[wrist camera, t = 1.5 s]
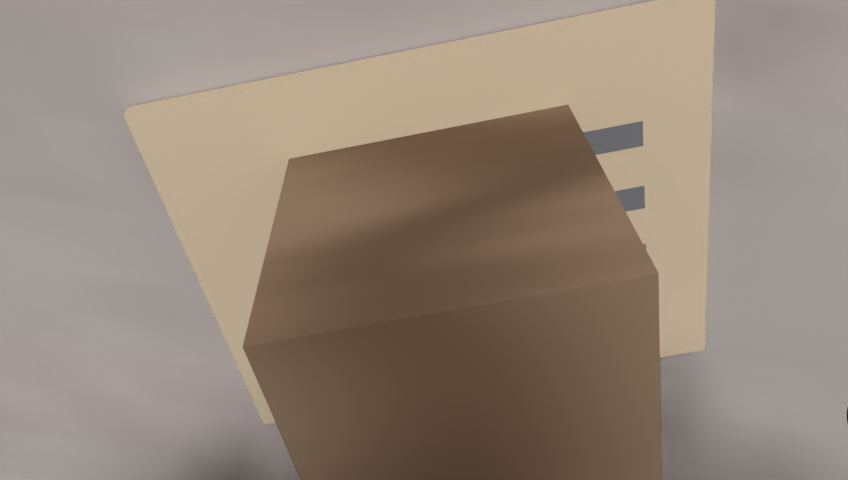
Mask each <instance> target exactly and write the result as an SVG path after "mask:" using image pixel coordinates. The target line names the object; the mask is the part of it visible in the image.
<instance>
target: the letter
mask: <svg viewBox="0 0 848 480" xmlns="http://www.w3.org/2000/svg"><path fill="white" fill-rule="evenodd" d="M715 1H716V0H654V1H649V2H644V3H639V4H634V5H629V6H624V7H620V8H615V9H610V10H605V11H600V12H595V13H590V14H585V15H580V16H575V17H570V18H565V19H560V20H555V21H550V22H545V23H541V24H536V25H531V26H526V27H521V28H516V29H511V30H506V31H501V32H496V33H491V34H486V35H481V36H476V37H471V38H466V39H461V40H457V41H452V42H447V43H442V44H437V45H432V46H427V47H422V48H417V49H412V50H407V51H402V52H397V53H392V54H387V55H382V56H378V57H373V58H368V59H363V60H358V61H353V62H348V63H343V64H338V65H333V66H328V67H323V68H318V69H313V70H308V71H303V72H299V73H294V74H289V75H284V76H279V77H274V78H269V79H264V80H259V81H254V82H249V83H244V84H239V85H234V86H229V87H224V88H219V89H215V90H210V91H205V92H200V93H195V94H190V95H185V96H180V97H175V98H170V99H165V100H160V101H155V102H150V103H145V104H140V105H136V106H131V107H128V109H127V110H126V111H125V113H124V114H123V115H124V118H125V120H126V122H127V124H128V127H129V129H130V131H131V133H132V135H133V138H134V140H135V142H136V144H137V146H138V149H139V151H140V153H141V155H142V157H143V160H144V162H145V164H146V166H147V168H148V171H149V173H150V175H151V177H152V179H153V182H154V184H155V186H156V188H157V190H158V193H159V195H160V197H161V199H162V201H163V204H164V206H165V208H166V210H167V212H168V215H169V217H170V219H171V221H172V223H173V226H174V228H175V230H176V232H177V234H178V237H179V239H180V241H181V243H182V245H183V248H184V250H185V252H186V254H187V256H188V259H189V261H190V263H191V265H192V268H193V270H194V272H195V274H196V276H197V279H198V281H199V283H200V285H201V287H202V290H203V292H204V294H205V296H206V298H207V301H208V303H209V305H210V307H211V309H212V312H213V314H214V316H215V318H216V320H217V323H218V325H219V327H220V329H221V331H222V334H223V336H224V338H225V340H226V342H227V345H228V347H229V349H230V351H231V353H232V356H233V358H234V360H235V362H236V364H237V367H238V369H239V371H240V373H241V375H242V378H243V380H244V382H245V384H246V386H247V389H248V391H249V393H250V395H251V397H252V400H253V402H254V404H255V406H256V409H257V411H258V413H259V415H260V417H261V420H262V422H263V424H264V425H266V424H272V423H276V422H275V420H274V418H273V415H272V413H271V411H270V408H269V406H268V404H267V402H266V399H265V397H264V395H263V393H262V390H261V388H260V386H259V383H258V381H257V379H256V377H255V374H254V372H253V370H252V368H251V365H250V363H249V361H248V358H247V356H246V354H245V352H244V349H243V343H244V339H245V335H246V331H247V327H248V323H249V319H250V315H251V311H252V306H253V302H254V298H255V294H256V290H257V286H258V282H259V278H260V274H261V270H262V266H263V262H264V258H265V254H266V250H267V246H268V242H269V238H270V234H271V230H272V226H273V221H274V217H275V213H276V209H277V205H278V201H279V197H280V193H281V189H282V185H283V181H284V177H285V173H286V169H287V165H288V161H289V159H291V158H296V157H301V156H306V155H311V154H317V153H322V152H327V151H332V150H337V149H342V148H347V147H353V146H358V145H363V144H368V143H373V142H378V141H383V140H389V139H394V138H399V137H404V136H409V135H414V134H420V133H425V132H430V131H435V130H440V129H445V128H450V127H456V126H461V125H466V124H471V123H476V122H481V121H486V120H492V119H497V118H502V117H507V116H512V115H517V114H522V113H528V112H533V111H538V110H543V109H548V108H553V107H558V106H564V105H569V107H570V109H571V111H572V113H573V115H574V116H575V118H576V120H577V122H578V124H579V126H580V128H581V129H582V131H583V133H584V135H585V137H586V139H587V141H588V143H589V144H590V146H591V148H592V150H593V152H594V154H595V156H596V157H597V159H598V161H599V163H600V165H601V167H602V169H603V171H604V172H605V174H606V176H607V178H608V180H609V182H610V184H611V185H612V187H613V189H614V191H615V193H616V195H617V197H618V199H619V200H620V202H621V204H622V206H623V208H624V210H625V212H626V213H627V215H628V217H629V219H630V221H631V223H632V225H633V226H634V228H635V230H636V232H637V234H638V236H639V238H640V240H641V241H642V243H643V245H644V247H645V249H646V251H647V253H648V254H649V256H650V258H651V260H652V262H653V264H654V266H655V268H656V269H657V271H658V273H659V334H660V358H661V357H667V356H673V355H679V354H685V353H691V352H697V351H703V350H705V325H706V293H707V260H708V228H709V196H710V163H711V131H712V99H713V66H714V34H715Z"/></svg>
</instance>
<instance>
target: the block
mask: <svg viewBox="0 0 848 480" xmlns="http://www.w3.org/2000/svg"><path fill="white" fill-rule="evenodd" d="M243 349H244V352H245V354H246V356H247V358H248V361H249V363H250V365H251V368H252V370H253V372H254V374H255V377H256V379H257V381H258V383H259V386H260V388H261V390H262V393H263V395H264V397H265V399H266V402H267V404H268V406H269V408H270V411H271V413H272V415H273V418H274V420H275V422H276V424H277V427H278V429H279V431H280V434H281V436H282V438H283V440H284V443H285V445H286V447H287V449H288V452H289V454H290V456H291V459H292V461H293V463H294V465H295V468H296V470H297V472H298V474H299V477H300V479H301V480H662V467H661V400H660V334H659V273H658V271H657V269H656V268H655V266H654V264H653V262H652V260H651V258H650V256H649V254H648V253H647V251H646V249H645V247H644V245H643V243H642V241H641V240H640V238H639V236H638V234H637V232H636V230H635V228H634V226H633V225H632V223H631V221H630V219H629V217H628V215H627V213H626V212H625V210H624V208H623V206H622V204H621V202H620V200H619V199H618V197H617V195H616V193H615V191H614V189H613V187H612V185H611V184H610V182H609V180H608V178H607V176H606V174H605V172H604V171H603V169H602V167H601V165H600V163H599V161H598V159H597V157H596V156H595V154H594V152H593V150H592V148H591V146H590V144H589V143H588V141H587V139H586V137H585V135H584V133H583V131H582V129H581V128H580V126H579V124H578V122H577V120H576V118H575V116H574V115H573V113H572V111H571V109H570V107H569V105H564V106H558V107H553V108H548V109H543V110H538V111H533V112H528V113H522V114H517V115H512V116H507V117H502V118H497V119H492V120H486V121H481V122H476V123H471V124H466V125H461V126H456V127H450V128H445V129H440V130H435V131H430V132H425V133H420V134H414V135H409V136H404V137H399V138H394V139H389V140H383V141H378V142H373V143H368V144H363V145H358V146H353V147H347V148H342V149H337V150H332V151H327V152H322V153H317V154H311V155H306V156H301V157H296V158H291V159H289V161H288V165H287V169H286V173H285V177H284V181H283V185H282V189H281V193H280V197H279V201H278V205H277V209H276V213H275V217H274V221H273V226H272V230H271V234H270V238H269V242H268V246H267V250H266V254H265V258H264V262H263V266H262V270H261V274H260V278H259V282H258V286H257V290H256V294H255V298H254V302H253V306H252V311H251V315H250V319H249V323H248V327H247V331H246V335H245V339H244V343H243Z"/></svg>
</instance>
